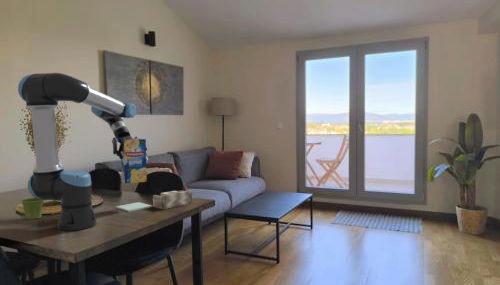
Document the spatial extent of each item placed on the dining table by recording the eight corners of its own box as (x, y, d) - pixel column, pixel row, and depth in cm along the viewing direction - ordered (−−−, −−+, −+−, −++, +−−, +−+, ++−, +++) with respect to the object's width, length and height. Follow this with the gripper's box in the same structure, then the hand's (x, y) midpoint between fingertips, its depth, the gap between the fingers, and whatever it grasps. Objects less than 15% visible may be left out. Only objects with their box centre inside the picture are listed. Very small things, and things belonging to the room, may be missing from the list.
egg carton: (163, 209, 182) (163, 195, 181) (153, 206, 188) (152, 193, 188) (191, 203, 195) (191, 190, 195) (181, 201, 201) (180, 188, 201)
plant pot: (40, 220, 163) (39, 201, 163) (17, 221, 162) (17, 202, 161) (48, 215, 173) (47, 197, 172) (27, 216, 171) (26, 197, 171)
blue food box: (146, 181, 186) (145, 139, 185) (124, 183, 180) (123, 139, 179) (143, 179, 192) (142, 138, 191) (121, 181, 186) (120, 139, 185)
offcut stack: (164, 205, 186) (164, 194, 186) (159, 204, 190) (158, 193, 189) (183, 201, 195) (183, 191, 195) (177, 200, 198) (177, 190, 198)
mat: (128, 211, 177) (128, 210, 177) (116, 207, 186) (115, 206, 186) (151, 207, 187) (151, 205, 187) (138, 203, 196) (138, 202, 196)
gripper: (137, 135, 204) (153, 165, 194) (97, 137, 187) (112, 169, 177) (142, 126, 200) (159, 155, 191) (101, 126, 183) (117, 159, 173)
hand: (136, 162), depth 184 cm, fingers closed on blue food box, 11 cm apart
